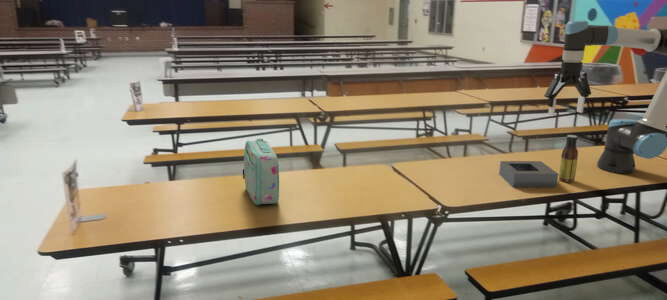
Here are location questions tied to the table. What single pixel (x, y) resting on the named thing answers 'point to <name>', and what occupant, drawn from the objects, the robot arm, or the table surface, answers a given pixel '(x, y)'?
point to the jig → (528, 174)
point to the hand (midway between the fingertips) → (565, 113)
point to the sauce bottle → (569, 160)
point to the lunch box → (261, 172)
